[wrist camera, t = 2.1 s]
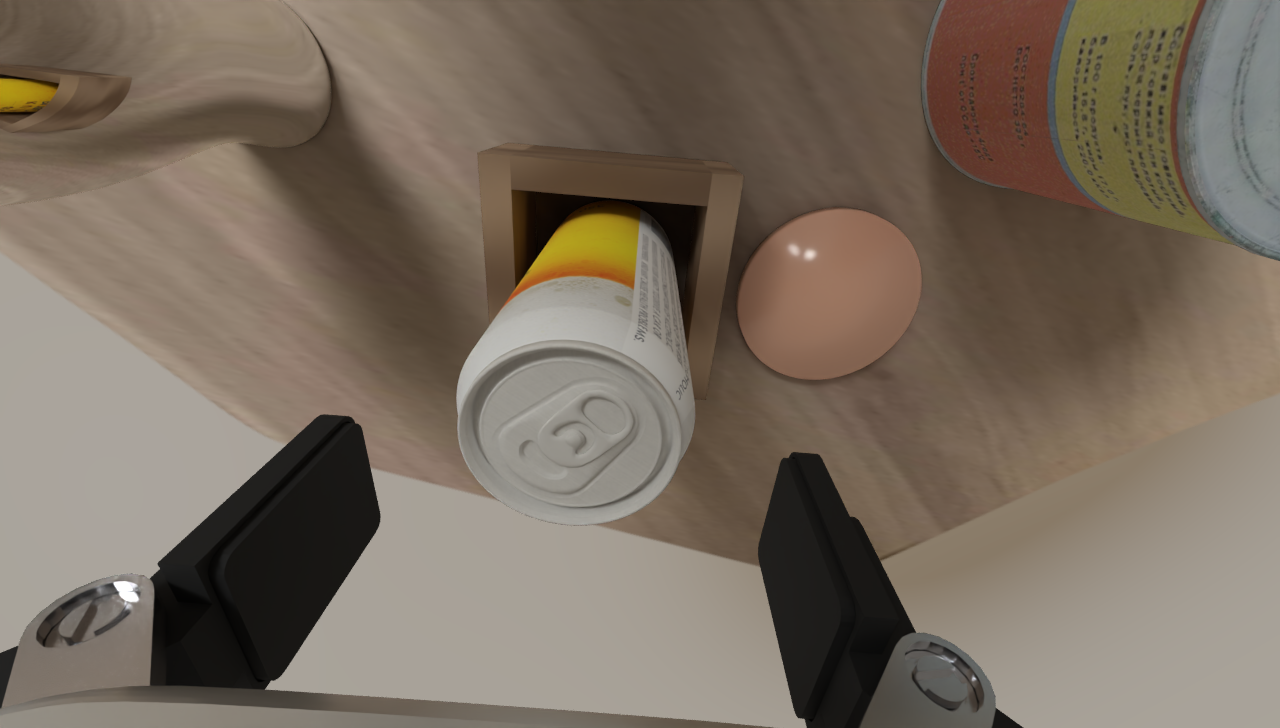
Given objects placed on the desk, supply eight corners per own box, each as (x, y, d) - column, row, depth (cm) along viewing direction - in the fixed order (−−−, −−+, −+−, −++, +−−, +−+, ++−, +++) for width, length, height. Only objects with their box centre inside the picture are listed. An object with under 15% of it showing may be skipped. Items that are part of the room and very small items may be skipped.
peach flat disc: (753, 199, 23) (757, 202, 23) (941, 215, 23) (950, 219, 23) (723, 365, 28) (725, 373, 27) (882, 378, 28) (888, 386, 27)
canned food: (1154, 176, 23) (1597, 246, 12) (900, 198, 23) (1110, 283, 13) (1284, -165, 17) (2288, -579, 7) (950, -124, 18) (1384, -442, 7)
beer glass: (377, 113, 22) (-39, 138, 9) (261, 184, 23) (-243, 297, 10) (257, -71, 19) (-650, -460, 6) (134, 24, 20) (-808, -109, 7)
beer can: (527, 255, 25) (386, 435, 12) (615, 168, 23) (567, 268, 10) (610, 337, 27) (571, 569, 14) (697, 265, 25) (751, 454, 12)
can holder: (508, 142, 22) (477, 152, 18) (727, 162, 23) (744, 176, 19) (516, 341, 27) (493, 383, 23) (697, 356, 27) (705, 399, 23)
